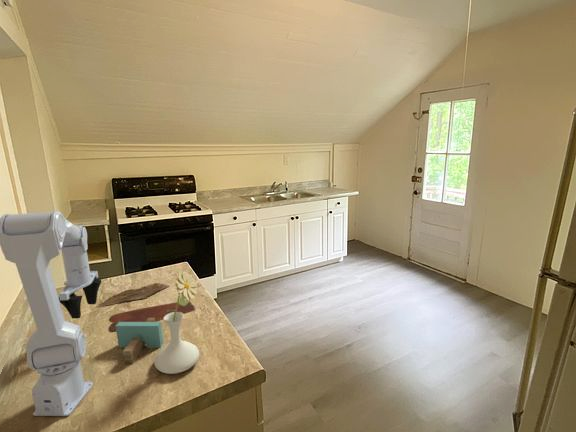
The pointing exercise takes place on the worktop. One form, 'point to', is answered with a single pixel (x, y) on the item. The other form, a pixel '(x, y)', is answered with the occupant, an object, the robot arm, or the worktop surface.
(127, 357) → the brown wooden bar
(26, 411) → the worktop surface
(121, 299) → the wooden fragment
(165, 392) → the worktop surface
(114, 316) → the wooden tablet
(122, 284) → the worktop surface
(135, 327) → the teal arch block
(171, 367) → the flower in vase
